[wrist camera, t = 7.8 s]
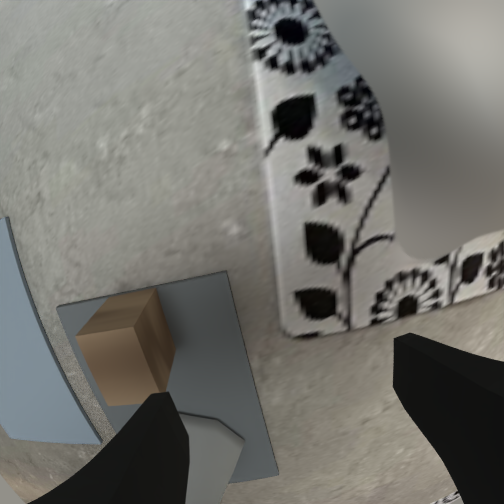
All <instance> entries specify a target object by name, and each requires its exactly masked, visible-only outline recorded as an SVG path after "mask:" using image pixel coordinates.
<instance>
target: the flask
mask: <svg viewBox="0 0 504 504" xmlns="http://www.w3.org/2000/svg"><path fill="white" fill-rule="evenodd" d="M179 415H180V417H181V420H182V422H183V424H184V426H185V428H186V430H187V432H188V435H189V447H190V466H189V475H188V484H187V493H186V502H185V504H220V501H221V499H222V496H223V494H224V491H225V489H226V487H227V485H228V483H229V480H230V478H231V476H232V474H233V472H234V469H235V466H236V464H237V461H238V459H239V456H240V453H241V451H242V448H243V445H244V442H245V441H244V440H243V439H242V438H240V437H239V436H238V435H236V434H235V433H234V432H232V431H231V430H230V429H228V428H227V427H226V426H224V425H223V424H222V423H220V422H219V421H218V420H212V419H206V418H200V417H195V416H189V415H184V414H179Z"/></svg>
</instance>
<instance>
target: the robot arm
mask: <svg viewBox="0 0 504 504" xmlns="http://www.w3.org/2000/svg"><path fill="white" fill-rule="evenodd" d="M393 388H394V390H395V392H396V394H397V396H398V398H399V400H400V401H401V403H402V405H403V407H404V409H405V410H406V412H407V413H408V414H409V416H410V417H411V418H412V420H413V421H414V422H415V424H416V425H417V426H418V428H419V429H420V430H421V432H422V433H423V434H424V436H425V437H426V438H427V440H428V441H429V442H430V444H431V445H432V446H433V448H434V449H435V450H436V452H437V453H438V455H439V456H440V458H441V459H442V461H443V463H444V464H445V466H446V468H447V470H448V472H449V474H450V476H451V477H452V479H453V481H454V483H455V485H456V487H457V490H458V492H459V494H460V496H461V498H462V500H463V503H464V504H504V362H503V361H498V360H493V359H490V358H486V357H482V356H478V355H475V354H472V353H468V352H465V351H462V350H459V349H456V348H453V347H450V346H448V345H445V344H442V343H439V342H436V341H434V340H431V339H428V338H425V337H422V336H419V335H416V334H413V333H408V334H405V335H402V336H399V337H396V338H394V366H393ZM189 466H190V447H189V435H188V432H187V430H186V428H185V426H184V424H183V422H182V420H181V417H180V415H179V413H178V411H177V409H176V406H175V404H174V402H173V400H172V397H171V395H170V393H169V391H168V392H161V393H153V394H150V395H149V397H148V398H147V399H146V400H145V401H144V402H143V403H142V405H141V406H140V407H139V408H138V409H137V411H136V412H135V413H134V414H133V416H132V417H131V418H130V419H129V420H128V421H127V423H126V424H125V425H124V426H123V427H122V429H121V430H120V431H119V432H118V433H117V434H116V435H115V436H114V438H113V439H112V440H111V441H110V442H109V443H108V444H107V445H106V446H105V447H104V448H103V449H102V450H101V451H100V452H99V453H98V454H97V455H96V456H95V457H94V458H93V459H92V460H91V461H90V462H89V463H88V464H86V465H85V466H84V467H83V468H82V469H80V470H79V471H78V472H77V473H76V474H74V475H73V476H72V477H70V478H69V479H68V480H66V481H65V482H63V483H62V484H60V485H59V486H57V487H56V488H54V489H53V490H51V491H50V492H48V493H47V494H45V495H43V496H41V497H39V498H38V499H36V500H34V501H32V502H30V503H28V504H185V502H186V493H187V484H188V475H189Z"/></svg>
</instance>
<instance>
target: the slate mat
mask: <svg viewBox="0 0 504 504" xmlns="http://www.w3.org/2000/svg"><path fill="white" fill-rule="evenodd" d="M0 424H1V425H2V427H3V428H4V430H5V431H6V433H7V434H8V436H9V437H10V438H12V439H20V440H29V441H40V442H53V443H70V444H101V443H102V439H101V438H100V436H99V435H98V433H97V431H96V430H95V428H94V427H93V425H92V423H91V422H90V420H89V418H88V417H87V415H86V413H85V412H84V410H83V408H82V406H81V405H80V403H79V401H78V399H77V397H76V396H75V394H74V392H73V390H72V388H71V386H70V384H69V382H68V380H67V378H66V376H65V374H64V372H63V370H62V368H61V366H60V364H59V362H58V360H57V358H56V356H55V354H54V351H53V349H52V347H51V345H50V342H49V340H48V338H47V336H46V333H45V331H44V328H43V326H42V323H41V321H40V318H39V316H38V313H37V311H36V308H35V305H34V303H33V300H32V297H31V294H30V291H29V289H28V286H27V283H26V280H25V277H24V273H23V270H22V267H21V264H20V260H19V257H18V253H17V250H16V246H15V242H14V239H13V235H12V231H11V227H10V222H9V218H8V217H4V218H2V219H0Z"/></svg>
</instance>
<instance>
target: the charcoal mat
mask: <svg viewBox="0 0 504 504" xmlns="http://www.w3.org/2000/svg"><path fill="white" fill-rule="evenodd" d="M56 310H57V313H58V315H59V318H60V320H61V323H62V325H63V328H64V330H65V333H66V335H67V338H68V340H69V342H70V345H71V347H72V349H73V351H74V354H75V356H76V358H77V360H78V362H79V365H80V367H81V369H82V371H83V373H84V375H85V377H86V379H87V381H88V383H89V385H90V387H91V389H92V391H93V393H94V395H95V397H96V399H97V400H98V402H99V404H100V406H101V408H102V410H103V411H104V413H105V415H106V417H107V418H108V420H109V422H110V424H111V425H112V427H113V429H114V430H115V432H116V434H117V433H118V432H119V431H120V430H121V429H122V427H123V426H124V425H125V424H126V423H127V421H128V420H129V419H130V418H131V417H132V416H133V414H134V413H135V412H136V411H137V409H138V408H139V407H140V406H141V405H142V403H143V402H144V401H145V400H146V399H147V398H148V397H149V395H150V394H153V393H161V392H168V391H169V393H170V395H171V397H172V400H173V402H174V404H175V406H176V409H177V411H178V413H179V414H184V415H189V416H195V417H200V418H206V419H212V420H218V421H219V422H220V423H222V424H223V425H224V426H226V427H227V428H228V429H230V430H231V431H232V432H234V433H235V434H236V435H238V436H239V437H240V438H242V439H243V440H244V441H245V442H244V445H243V448H242V451H241V453H240V456H239V459H238V461H237V464H236V466H235V469H234V472H233V474H232V476H231V478H230V480H229V483H228V484H230V483H237V482H244V481H250V480H256V479H262V478H267V477H272V476H277V475H279V471H278V468H277V465H276V461H275V457H274V454H273V450H272V447H271V443H270V440H269V436H268V432H267V429H266V425H265V422H264V418H263V414H262V410H261V407H260V403H259V399H258V396H257V392H256V388H255V384H254V380H253V377H252V373H251V369H250V365H249V361H248V357H247V353H246V349H245V346H244V342H243V338H242V334H241V330H240V326H239V322H238V318H237V314H236V309H235V305H234V301H233V297H232V293H231V289H230V285H229V281H228V276H227V272H226V271H221V272H217V273H212V274H208V275H203V276H198V277H194V278H189V279H184V280H180V281H175V282H170V283H166V284H161V285H156V286H151V287H147V288H142V289H137V290H132V291H128V292H123V293H118V294H113V295H108V296H103V297H99V298H94V299H89V300H84V301H79V302H74V303H69V304H64V305H59V306H57V307H56Z"/></svg>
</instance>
